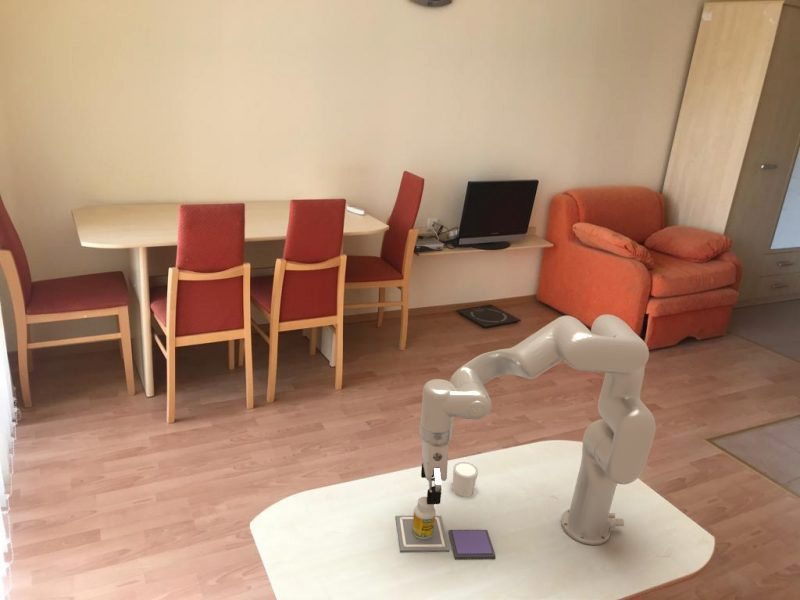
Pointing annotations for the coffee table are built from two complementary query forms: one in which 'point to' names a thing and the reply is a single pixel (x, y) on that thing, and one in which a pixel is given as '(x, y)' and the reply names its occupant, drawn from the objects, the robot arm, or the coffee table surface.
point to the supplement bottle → (423, 519)
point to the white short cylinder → (464, 478)
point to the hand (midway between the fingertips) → (430, 489)
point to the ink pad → (471, 544)
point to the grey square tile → (414, 544)
